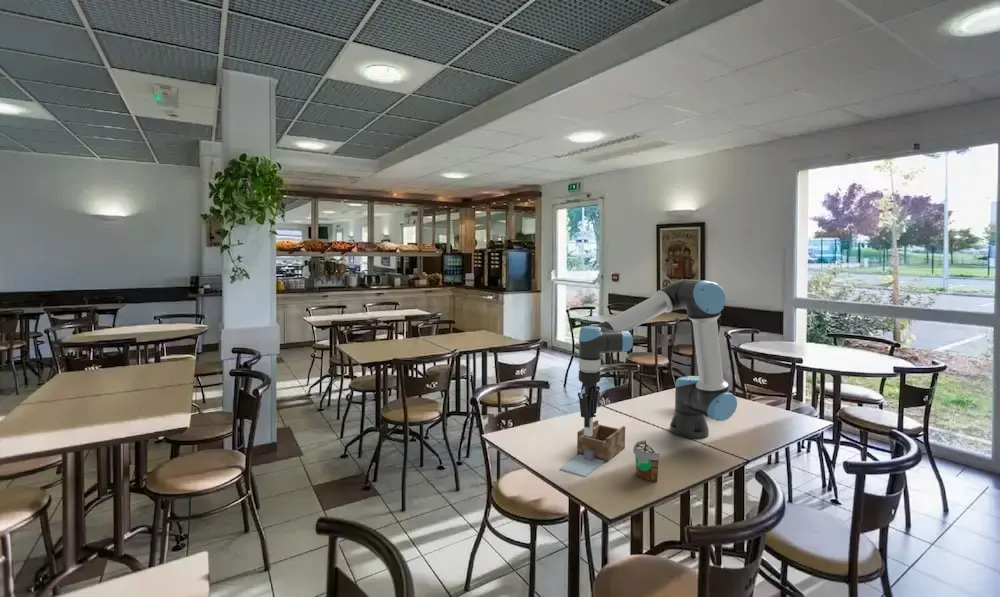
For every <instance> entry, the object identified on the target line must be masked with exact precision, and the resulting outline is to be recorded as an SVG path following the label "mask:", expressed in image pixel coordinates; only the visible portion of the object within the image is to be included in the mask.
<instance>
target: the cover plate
mask: <svg viewBox="0 0 1000 597" xmlns="http://www.w3.org/2000/svg"><path fill="white" fill-rule="evenodd" d="M594 455H595V451H593V450H589V449H586V450H585V451H584V455H581V454H579V455H578V454H577V455H576V456H575V457H573V458H572V459H570V460H569V461H568V462H566V463H565V464H563V466H561V467H559V470H560V471H562V472H565V473H566V472H567V473H569V474H573V475H577V476H580V477H584V478H587V477H588V476H589V475H590V474H592V473H593V472H594V471H595V470H596V469H597V468H598V467H600V466H601V465H602V464H603V463H605V462H604V460H600V459H596V458H594Z"/></svg>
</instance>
